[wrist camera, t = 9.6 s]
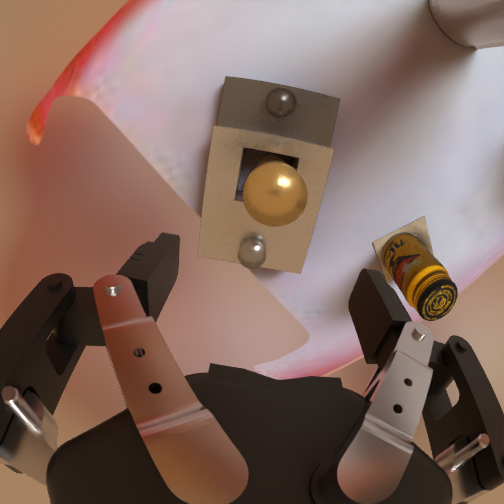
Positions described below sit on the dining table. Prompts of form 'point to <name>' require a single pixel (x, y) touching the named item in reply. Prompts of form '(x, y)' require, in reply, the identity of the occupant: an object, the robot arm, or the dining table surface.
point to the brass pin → (274, 192)
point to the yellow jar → (417, 270)
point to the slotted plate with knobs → (272, 140)
